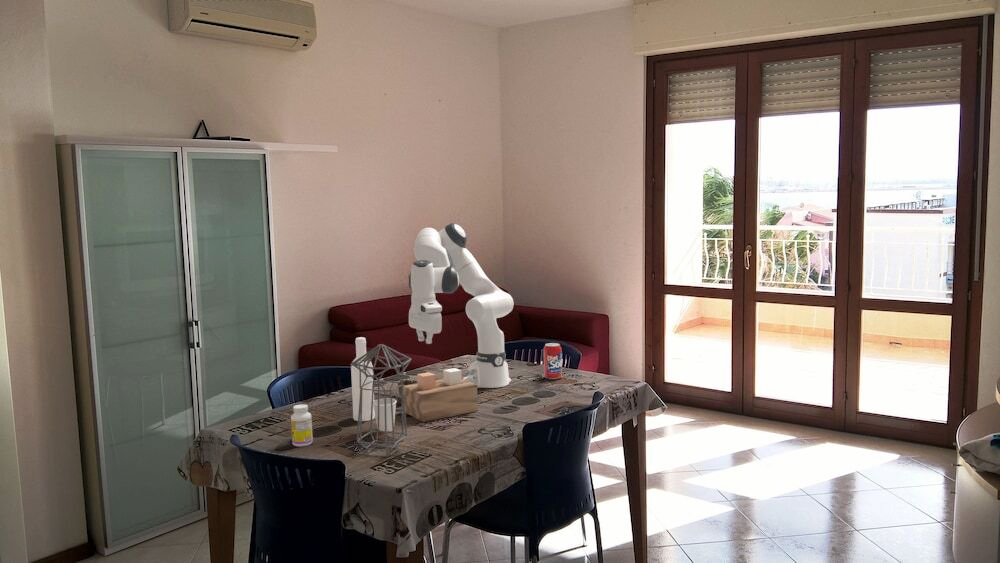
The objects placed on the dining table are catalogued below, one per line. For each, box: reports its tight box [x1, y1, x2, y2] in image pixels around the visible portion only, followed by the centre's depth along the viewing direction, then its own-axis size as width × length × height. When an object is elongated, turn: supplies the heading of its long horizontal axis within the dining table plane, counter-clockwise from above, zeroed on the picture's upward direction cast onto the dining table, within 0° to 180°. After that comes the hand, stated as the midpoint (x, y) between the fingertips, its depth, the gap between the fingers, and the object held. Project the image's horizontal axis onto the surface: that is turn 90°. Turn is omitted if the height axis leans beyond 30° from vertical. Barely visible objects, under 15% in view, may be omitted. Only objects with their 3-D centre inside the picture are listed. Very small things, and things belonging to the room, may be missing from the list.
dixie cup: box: [373, 397, 398, 432], centre depth 270 cm, size 8×8×10 cm
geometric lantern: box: [349, 343, 412, 458], centre depth 244 cm, size 16×16×35 cm
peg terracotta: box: [416, 371, 437, 390], centre depth 286 cm, size 5×5×9 cm
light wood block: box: [403, 378, 479, 423], centre depth 290 cm, size 16×23×10 cm
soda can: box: [543, 342, 563, 381], centre depth 337 cm, size 8×8×15 cm
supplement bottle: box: [290, 403, 314, 448], centre depth 256 cm, size 7×7×13 cm
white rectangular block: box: [442, 367, 463, 386], centre depth 292 cm, size 5×5×9 cm
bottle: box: [350, 336, 376, 422], centre depth 282 cm, size 8×8×30 cm
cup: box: [397, 379, 418, 397], centre depth 305 cm, size 8×7×8 cm
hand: (425, 342), depth 285 cm, fingers open, 5 cm apart
